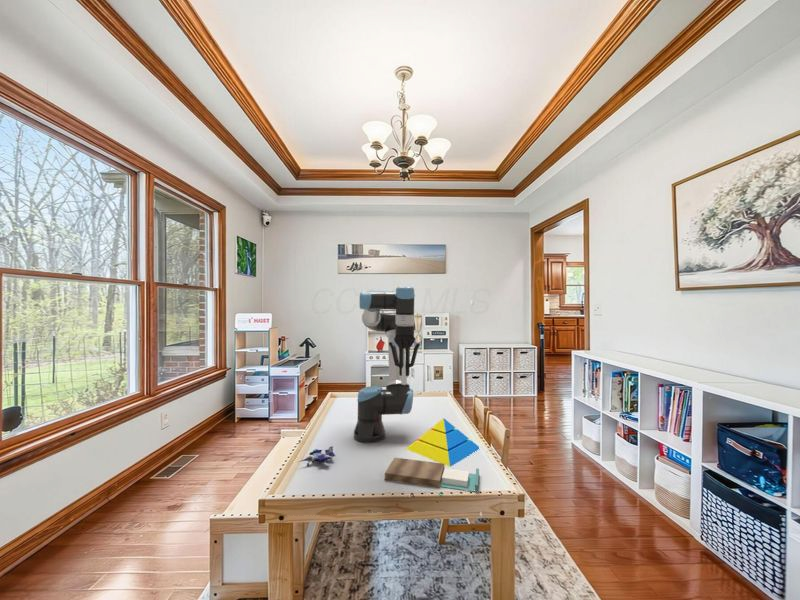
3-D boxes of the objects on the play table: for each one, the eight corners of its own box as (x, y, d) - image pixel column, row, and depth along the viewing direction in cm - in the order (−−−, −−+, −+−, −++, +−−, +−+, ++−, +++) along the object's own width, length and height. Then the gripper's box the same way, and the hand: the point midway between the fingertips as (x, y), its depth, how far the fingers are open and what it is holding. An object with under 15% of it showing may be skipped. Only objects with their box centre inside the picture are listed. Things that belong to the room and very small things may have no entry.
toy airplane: (294, 469, 132) (294, 460, 132) (310, 454, 146) (310, 445, 146) (325, 473, 130) (326, 463, 130) (339, 457, 144) (339, 448, 144)
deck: (384, 479, 125) (384, 473, 125) (394, 463, 138) (394, 457, 138) (439, 487, 120) (439, 480, 120) (444, 470, 133) (444, 463, 133)
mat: (439, 487, 121) (439, 479, 121) (444, 470, 132) (444, 464, 132) (477, 492, 117) (477, 485, 117) (478, 475, 129) (479, 468, 129)
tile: (441, 483, 123) (441, 477, 123) (444, 473, 129) (444, 468, 129) (467, 487, 120) (467, 481, 120) (469, 477, 127) (469, 471, 127)
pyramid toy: (450, 469, 135) (450, 433, 135) (403, 450, 152) (403, 418, 152) (483, 450, 153) (483, 417, 153) (437, 434, 170) (438, 405, 170)
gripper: (386, 325, 136) (386, 384, 136) (419, 326, 133) (418, 387, 133) (391, 324, 143) (391, 380, 144) (422, 324, 140) (421, 382, 141)
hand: (404, 383), depth 139 cm, fingers closed
